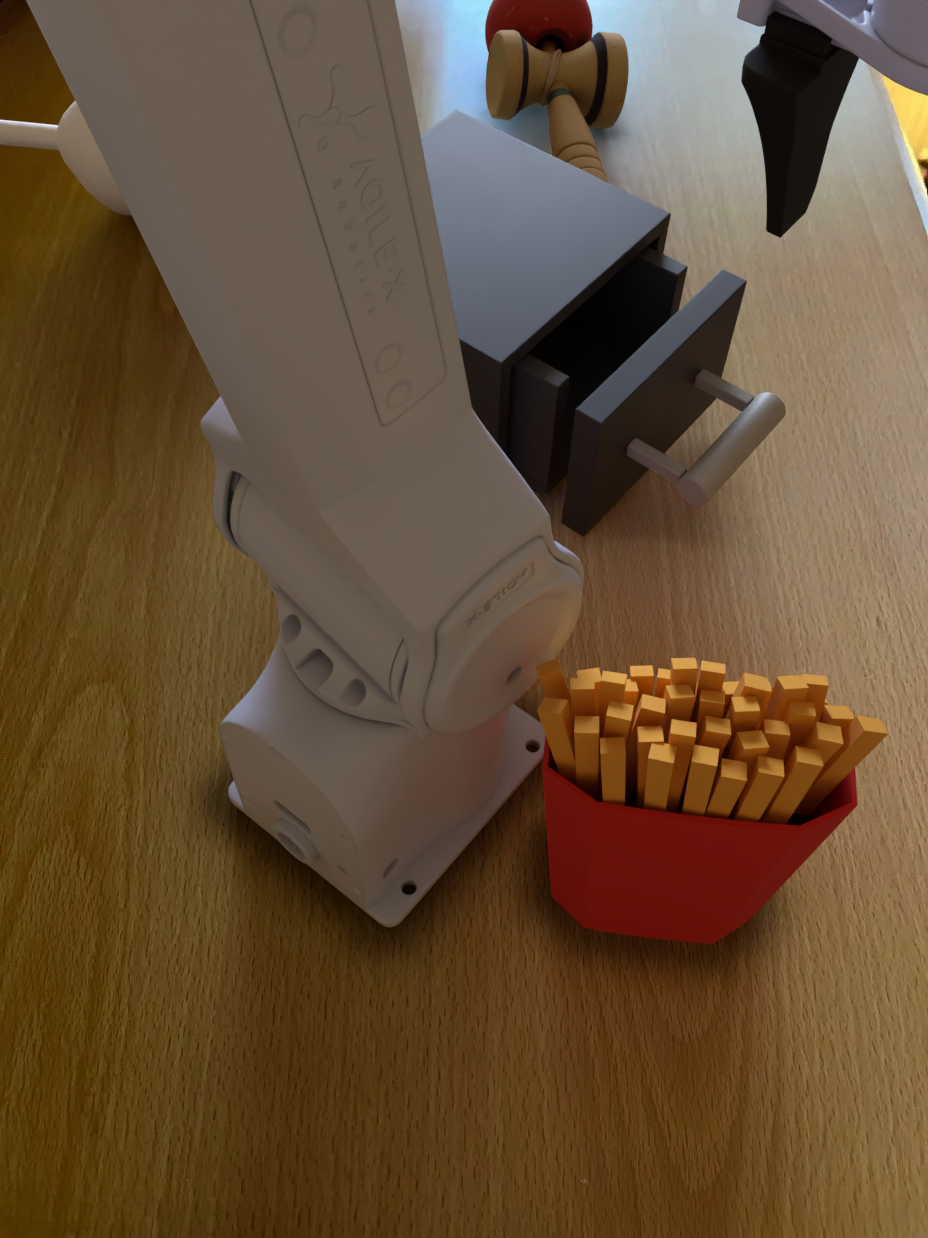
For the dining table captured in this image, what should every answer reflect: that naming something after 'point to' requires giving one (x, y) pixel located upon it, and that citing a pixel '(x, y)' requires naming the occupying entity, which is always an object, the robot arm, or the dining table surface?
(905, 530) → the dining table surface
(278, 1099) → the dining table surface
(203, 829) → the dining table surface
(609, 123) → the kendama
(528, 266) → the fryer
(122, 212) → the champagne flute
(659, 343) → the drawer
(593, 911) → the french fries
